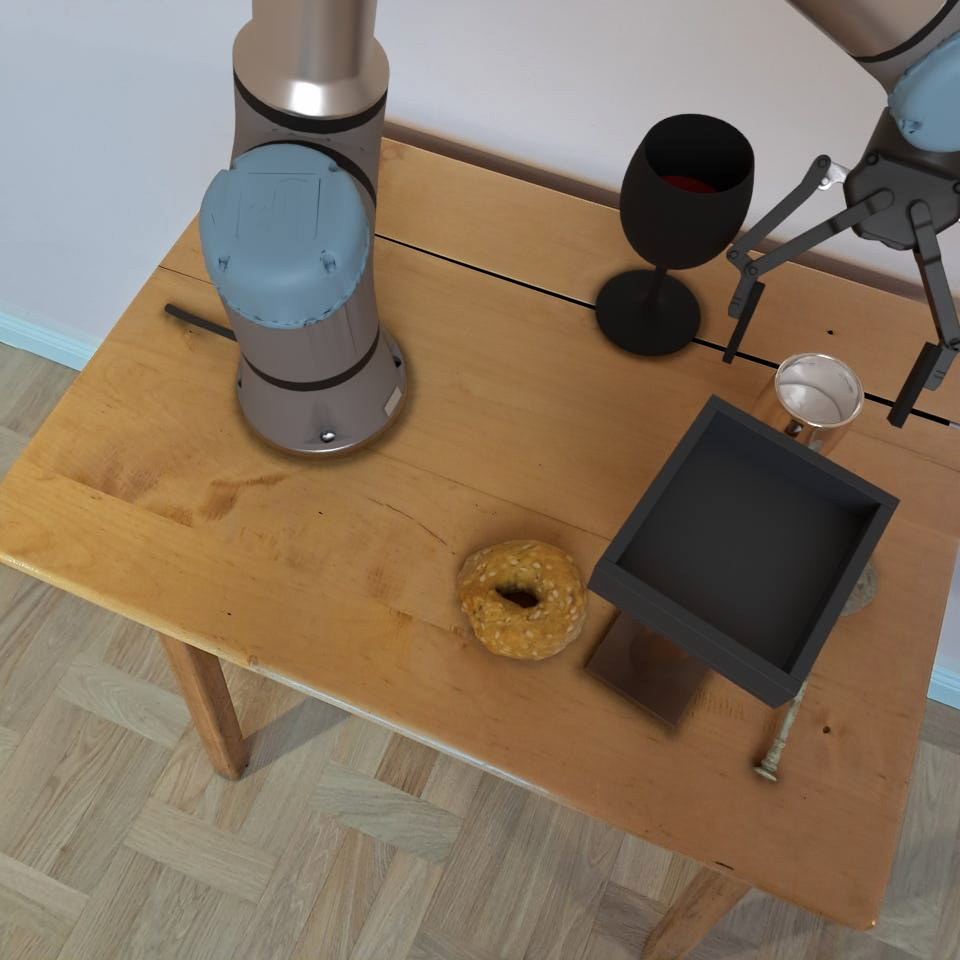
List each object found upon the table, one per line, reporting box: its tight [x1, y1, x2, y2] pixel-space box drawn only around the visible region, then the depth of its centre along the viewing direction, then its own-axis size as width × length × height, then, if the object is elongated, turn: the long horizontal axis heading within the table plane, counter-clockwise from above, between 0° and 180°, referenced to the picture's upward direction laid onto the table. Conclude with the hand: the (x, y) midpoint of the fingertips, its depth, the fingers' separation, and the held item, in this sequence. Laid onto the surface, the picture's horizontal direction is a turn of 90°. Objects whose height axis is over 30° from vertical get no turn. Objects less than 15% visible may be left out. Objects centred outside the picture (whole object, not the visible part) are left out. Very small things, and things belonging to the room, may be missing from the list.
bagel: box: [454, 539, 590, 661], centre depth 69 cm, size 10×11×5 cm
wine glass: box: [594, 113, 756, 358], centre depth 76 cm, size 10×10×20 cm
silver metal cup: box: [750, 350, 865, 458], centre depth 70 cm, size 7×7×15 cm
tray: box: [586, 393, 901, 710], centre depth 48 cm, size 12×13×3 cm
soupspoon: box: [752, 558, 879, 782], centre depth 69 cm, size 22×3×7 cm
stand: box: [583, 610, 711, 731], centre depth 59 cm, size 8×8×23 cm
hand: (808, 392), depth 69 cm, fingers open, 13 cm apart
